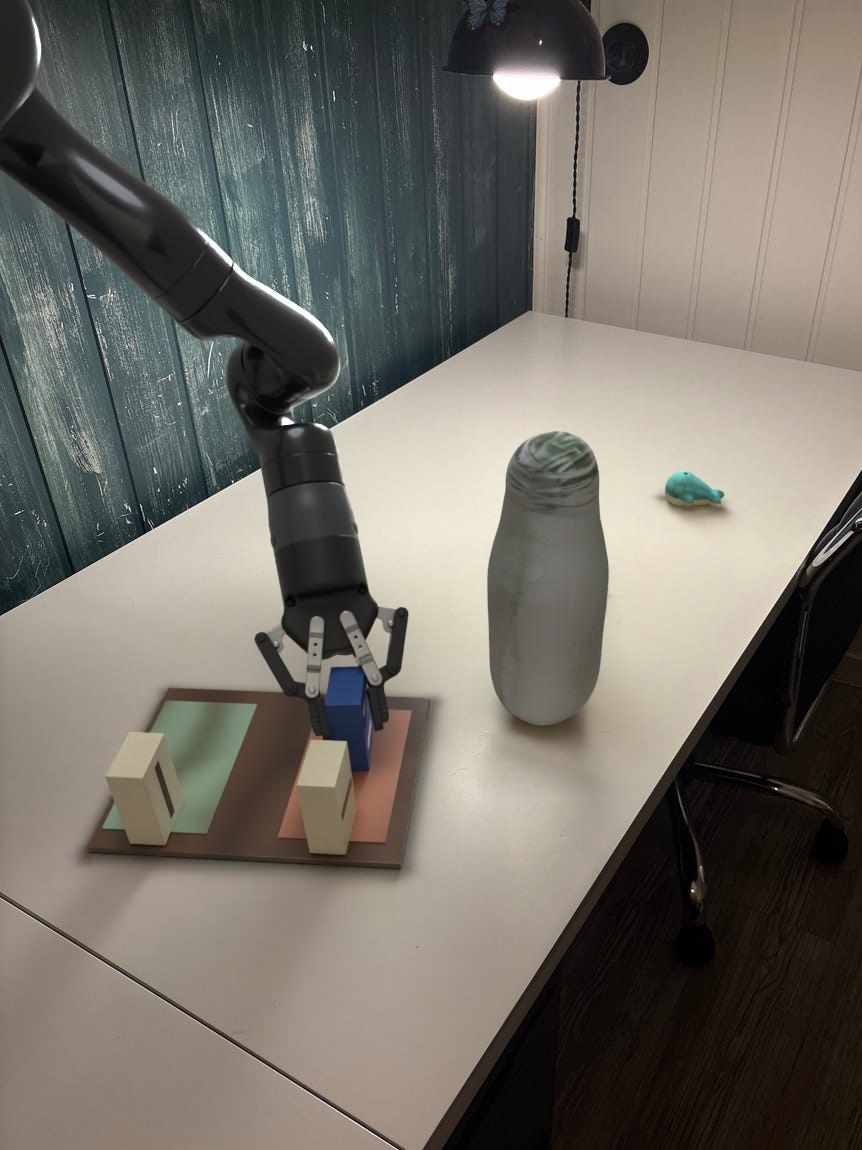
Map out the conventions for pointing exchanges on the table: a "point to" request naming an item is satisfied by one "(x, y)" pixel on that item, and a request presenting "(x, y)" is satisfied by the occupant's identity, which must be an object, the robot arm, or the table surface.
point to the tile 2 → (327, 796)
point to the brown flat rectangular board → (271, 780)
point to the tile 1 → (145, 788)
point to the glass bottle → (548, 581)
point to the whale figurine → (690, 490)
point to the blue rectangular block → (350, 714)
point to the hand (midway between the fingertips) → (352, 734)
